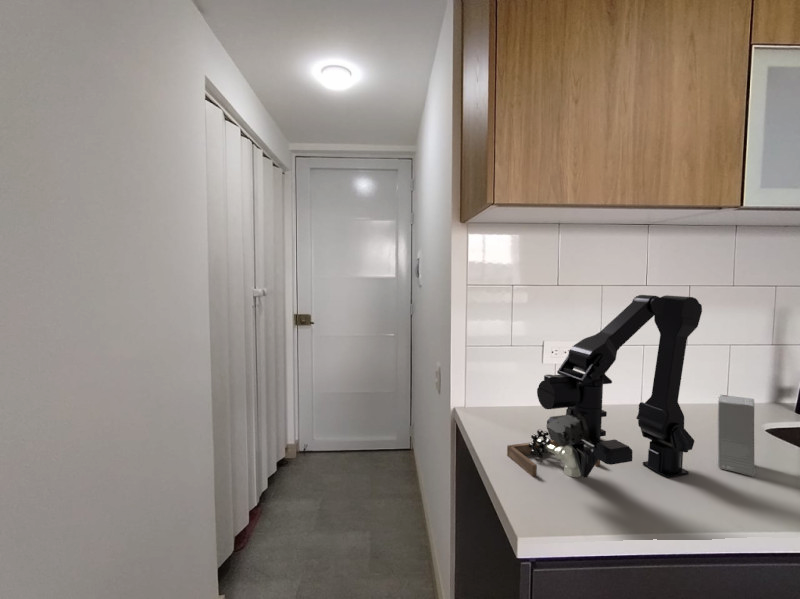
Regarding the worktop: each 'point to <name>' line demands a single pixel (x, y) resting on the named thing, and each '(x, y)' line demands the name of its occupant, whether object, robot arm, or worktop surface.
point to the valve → (556, 453)
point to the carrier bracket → (518, 453)
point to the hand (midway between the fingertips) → (584, 476)
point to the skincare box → (736, 434)
